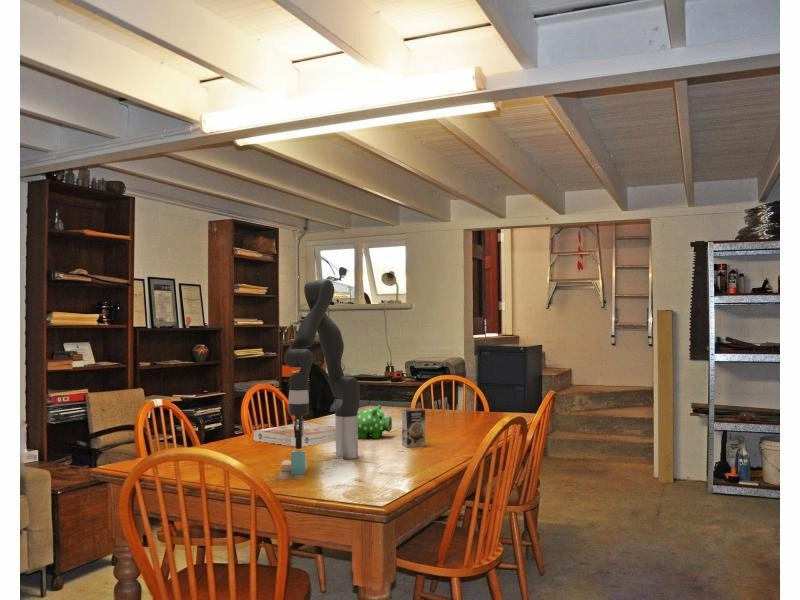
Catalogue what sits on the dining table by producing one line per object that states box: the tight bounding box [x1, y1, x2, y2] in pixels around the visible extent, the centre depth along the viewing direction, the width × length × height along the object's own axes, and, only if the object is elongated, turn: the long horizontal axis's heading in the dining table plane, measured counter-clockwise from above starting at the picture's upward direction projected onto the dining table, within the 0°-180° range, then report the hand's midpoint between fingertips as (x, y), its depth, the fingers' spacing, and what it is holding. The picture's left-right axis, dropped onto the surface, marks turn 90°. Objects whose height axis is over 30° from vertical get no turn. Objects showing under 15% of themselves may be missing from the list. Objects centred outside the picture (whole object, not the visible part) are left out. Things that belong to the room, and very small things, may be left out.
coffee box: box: [401, 408, 426, 448], centre depth 304 cm, size 9×6×16 cm
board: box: [276, 461, 310, 480], centre depth 251 cm, size 10×28×1 cm, turn 4°
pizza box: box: [253, 422, 336, 448], centre depth 325 cm, size 32×5×32 cm
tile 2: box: [290, 449, 307, 475], centre depth 245 cm, size 5×2×8 cm, turn 94°
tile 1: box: [280, 459, 291, 472], centre depth 253 cm, size 5×2×8 cm
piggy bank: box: [358, 404, 393, 440], centre depth 328 cm, size 14×18×15 cm
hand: (298, 448), depth 253 cm, fingers closed
